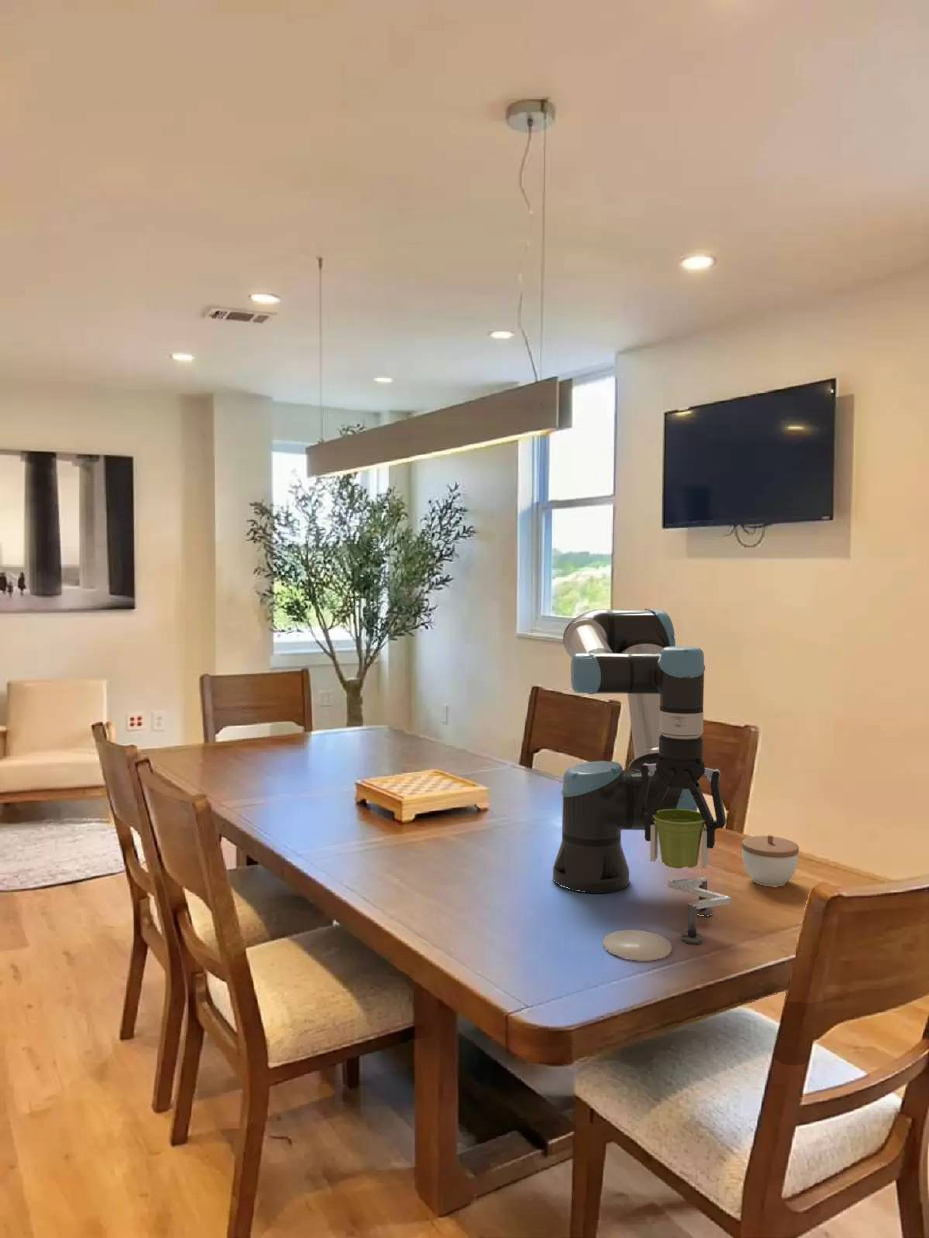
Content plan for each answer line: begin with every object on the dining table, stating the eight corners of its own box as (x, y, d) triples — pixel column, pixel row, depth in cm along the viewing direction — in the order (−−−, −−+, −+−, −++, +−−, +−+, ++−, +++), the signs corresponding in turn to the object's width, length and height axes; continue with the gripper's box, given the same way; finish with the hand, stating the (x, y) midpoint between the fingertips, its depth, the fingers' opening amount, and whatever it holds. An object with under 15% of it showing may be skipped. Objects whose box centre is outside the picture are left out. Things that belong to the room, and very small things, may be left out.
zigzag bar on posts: (656, 938, 153) (657, 900, 153) (672, 905, 168) (673, 870, 168) (725, 949, 149) (726, 910, 148) (735, 914, 164) (736, 878, 163)
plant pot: (643, 865, 160) (644, 817, 159) (664, 852, 167) (664, 805, 167) (695, 876, 154) (695, 825, 154) (714, 861, 162) (714, 813, 162)
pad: (596, 954, 147) (596, 950, 147) (611, 929, 157) (611, 925, 157) (664, 965, 143) (665, 962, 143) (676, 939, 153) (676, 935, 153)
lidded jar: (761, 893, 174) (762, 845, 174) (730, 875, 185) (731, 830, 184) (809, 888, 177) (810, 841, 177) (776, 870, 188) (777, 825, 187)
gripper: (616, 734, 160) (615, 860, 161) (740, 743, 152) (738, 876, 153) (626, 727, 167) (625, 849, 168) (745, 735, 159) (743, 863, 160)
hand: (679, 862), depth 161 cm, fingers closed on plant pot, 8 cm apart
